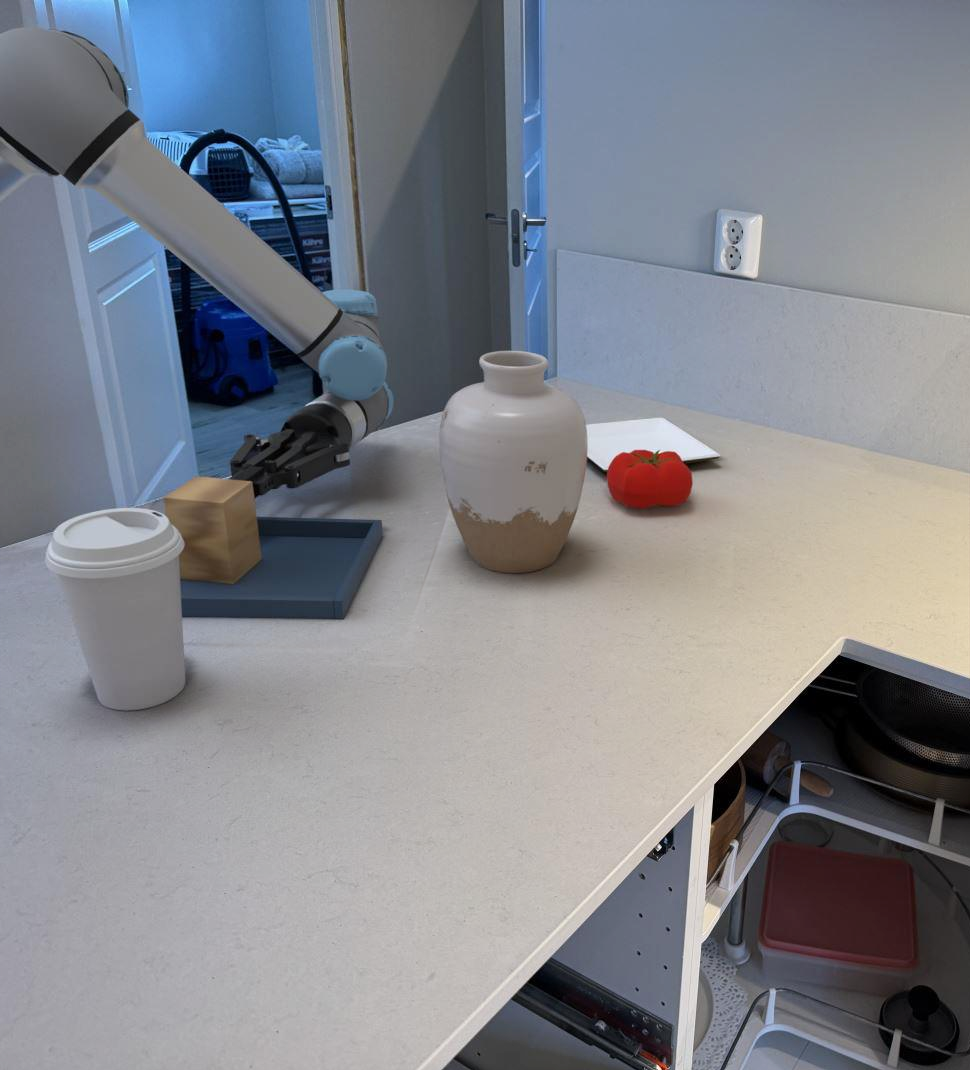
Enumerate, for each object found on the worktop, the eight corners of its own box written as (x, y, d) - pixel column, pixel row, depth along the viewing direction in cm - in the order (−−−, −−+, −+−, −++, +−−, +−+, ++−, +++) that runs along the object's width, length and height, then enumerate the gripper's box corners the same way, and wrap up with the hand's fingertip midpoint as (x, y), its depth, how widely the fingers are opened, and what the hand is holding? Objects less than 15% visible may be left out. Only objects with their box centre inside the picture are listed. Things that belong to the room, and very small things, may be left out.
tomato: (699, 514, 128) (703, 466, 125) (617, 519, 124) (619, 471, 122) (676, 486, 136) (679, 441, 134) (598, 491, 133) (600, 445, 130)
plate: (603, 482, 136) (604, 468, 135) (553, 440, 150) (553, 427, 149) (720, 467, 145) (722, 454, 144) (662, 429, 159) (663, 416, 158)
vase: (516, 516, 123) (515, 333, 114) (613, 554, 115) (620, 362, 106) (413, 555, 111) (402, 354, 102) (513, 601, 103) (511, 388, 94)
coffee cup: (215, 702, 83) (190, 539, 77) (81, 734, 78) (43, 562, 72) (195, 649, 90) (170, 496, 84) (71, 675, 85) (36, 515, 79)
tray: (83, 619, 93) (78, 596, 92) (165, 534, 111) (162, 513, 110) (343, 623, 96) (341, 600, 95) (383, 539, 114) (381, 519, 113)
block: (176, 579, 101) (162, 497, 97) (207, 554, 106) (195, 475, 102) (234, 584, 101) (223, 502, 97) (262, 559, 106) (252, 481, 102)
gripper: (376, 463, 127) (292, 538, 105) (276, 454, 127) (172, 526, 105) (372, 407, 123) (285, 472, 102) (270, 397, 124) (161, 460, 102)
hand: (228, 499), depth 104 cm, fingers closed
